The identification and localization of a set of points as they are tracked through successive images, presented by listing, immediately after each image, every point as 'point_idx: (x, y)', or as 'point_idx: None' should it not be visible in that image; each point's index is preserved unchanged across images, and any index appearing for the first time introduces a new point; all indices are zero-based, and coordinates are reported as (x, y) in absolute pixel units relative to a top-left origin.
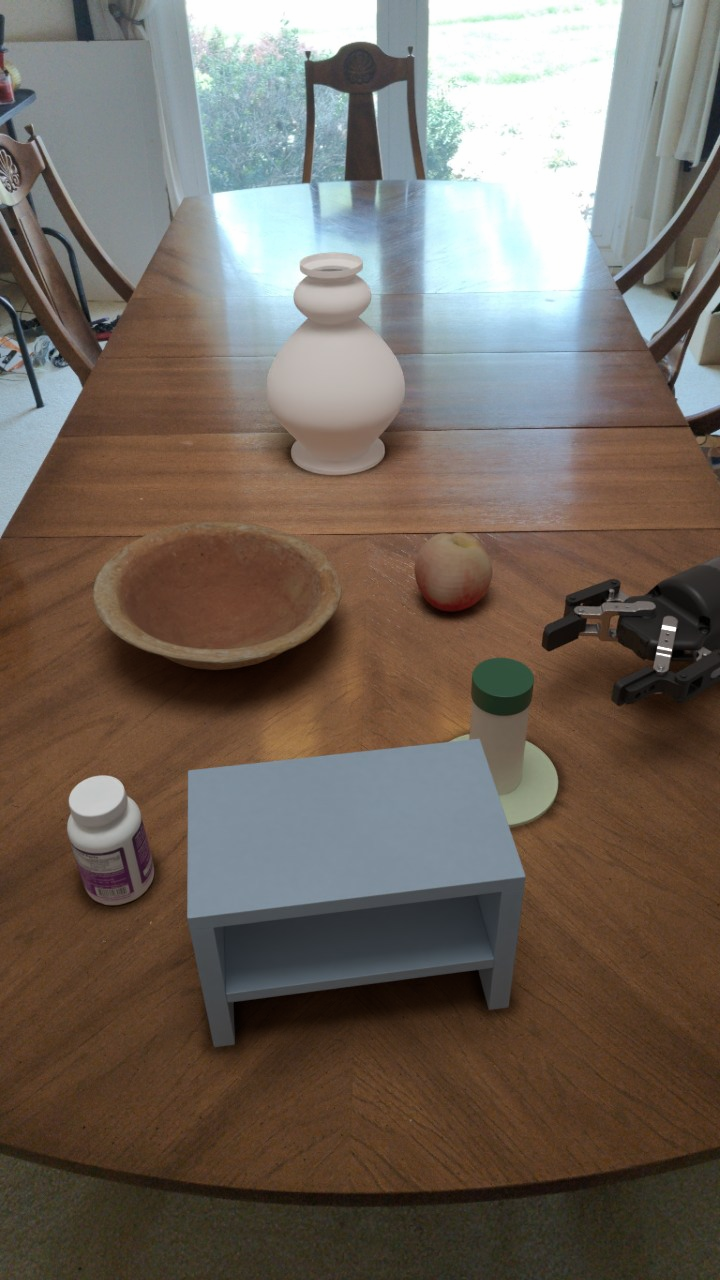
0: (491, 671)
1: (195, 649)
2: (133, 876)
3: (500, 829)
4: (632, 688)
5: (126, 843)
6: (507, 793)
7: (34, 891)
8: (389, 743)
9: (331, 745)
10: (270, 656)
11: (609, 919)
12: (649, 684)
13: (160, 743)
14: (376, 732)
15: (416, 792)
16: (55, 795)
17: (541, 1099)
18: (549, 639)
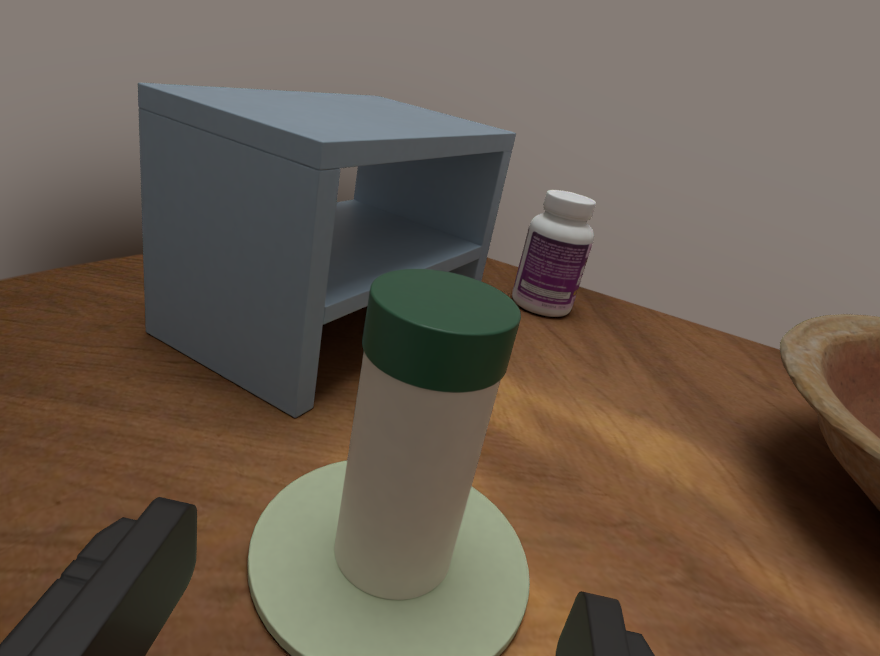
0: (478, 300)
1: (822, 343)
2: (519, 271)
3: (199, 99)
4: (115, 535)
5: (530, 230)
6: None
7: None
8: (588, 520)
9: (627, 472)
10: (836, 449)
11: (39, 447)
12: (37, 607)
13: (713, 387)
14: (626, 526)
15: (326, 118)
16: (667, 328)
17: (73, 297)
18: (572, 612)
